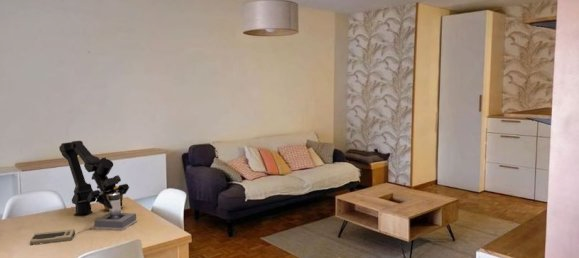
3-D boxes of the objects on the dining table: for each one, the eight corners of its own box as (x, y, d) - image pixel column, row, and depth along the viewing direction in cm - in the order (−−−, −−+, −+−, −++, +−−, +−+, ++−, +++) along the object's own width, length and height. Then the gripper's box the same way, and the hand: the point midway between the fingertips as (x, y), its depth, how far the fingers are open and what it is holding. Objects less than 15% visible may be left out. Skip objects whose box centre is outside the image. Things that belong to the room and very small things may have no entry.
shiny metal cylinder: (109, 222, 191) (107, 195, 190) (110, 218, 196) (108, 192, 195) (121, 221, 193) (119, 194, 191) (122, 217, 198) (120, 191, 196)
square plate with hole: (94, 228, 190) (94, 220, 190) (109, 220, 202) (109, 212, 201) (122, 230, 188) (122, 221, 187) (136, 221, 200) (135, 213, 199)
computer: (29, 246, 171) (29, 238, 171) (35, 239, 179) (34, 232, 179) (71, 241, 176) (71, 234, 176) (75, 235, 184) (74, 228, 183)
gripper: (88, 174, 187) (103, 202, 182) (126, 167, 202) (140, 192, 197) (81, 188, 192) (95, 215, 187) (118, 181, 207) (131, 205, 202)
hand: (116, 207), depth 193 cm, fingers closed on shiny metal cylinder, 5 cm apart
